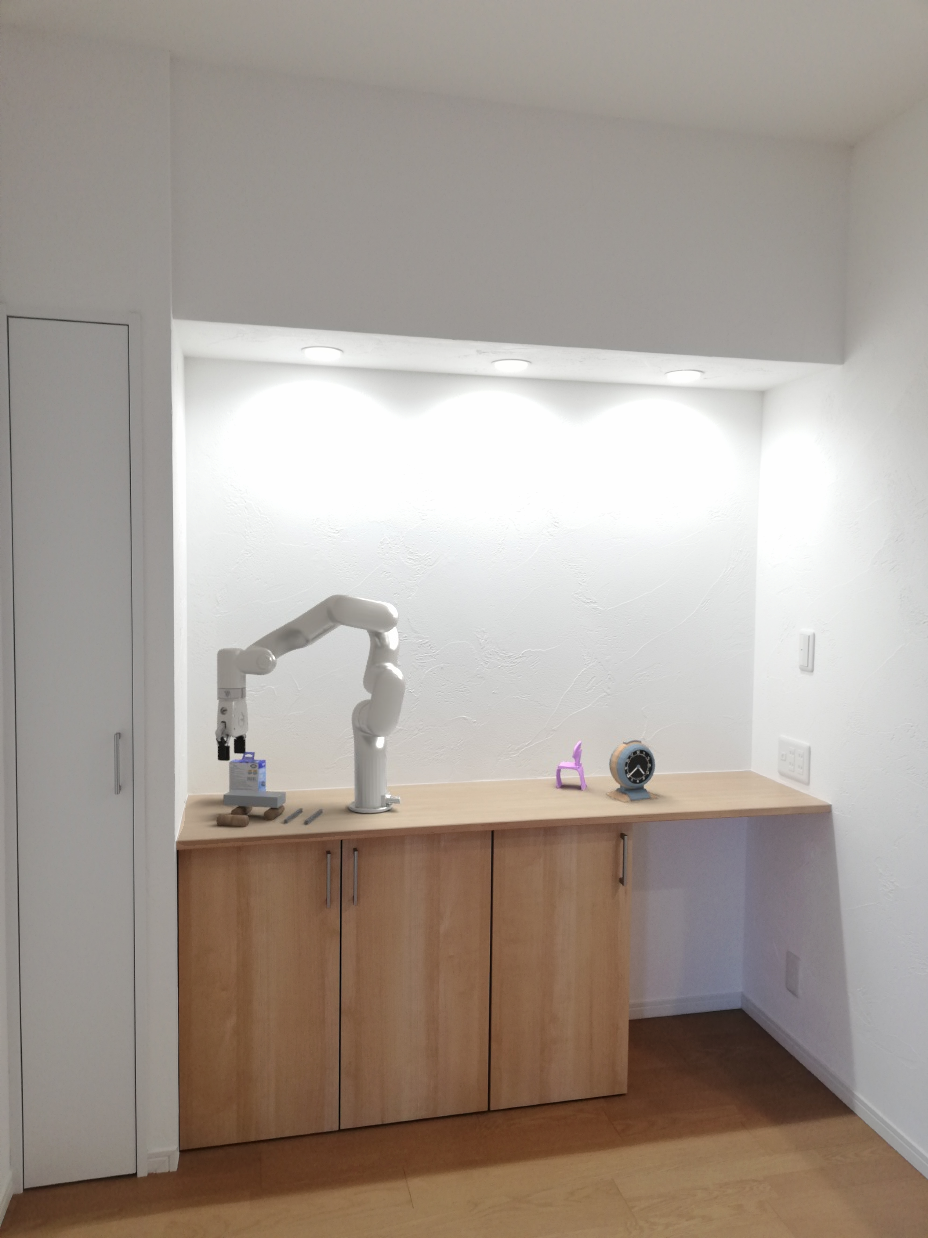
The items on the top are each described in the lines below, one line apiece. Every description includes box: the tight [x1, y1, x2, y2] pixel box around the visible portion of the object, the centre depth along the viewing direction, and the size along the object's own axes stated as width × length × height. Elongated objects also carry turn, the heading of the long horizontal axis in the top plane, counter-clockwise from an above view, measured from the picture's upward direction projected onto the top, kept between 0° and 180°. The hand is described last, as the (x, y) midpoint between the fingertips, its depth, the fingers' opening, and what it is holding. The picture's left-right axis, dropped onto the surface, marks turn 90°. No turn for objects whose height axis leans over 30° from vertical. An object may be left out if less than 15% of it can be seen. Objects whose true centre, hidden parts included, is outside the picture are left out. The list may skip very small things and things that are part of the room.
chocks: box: [283, 807, 324, 825], centre depth 246 cm, size 7×12×1 cm, turn 170°
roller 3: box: [262, 804, 285, 822], centre depth 248 cm, size 3×8×3 cm, turn 170°
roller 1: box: [230, 806, 254, 815], centre depth 249 cm, size 3×8×3 cm, turn 170°
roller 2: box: [215, 813, 250, 828], centre depth 239 cm, size 8×3×3 cm, turn 80°
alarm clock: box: [605, 738, 659, 803], centre depth 269 cm, size 14×10×18 cm
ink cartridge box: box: [228, 751, 267, 792], centre depth 265 cm, size 10×6×14 cm, turn 78°
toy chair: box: [555, 740, 587, 791], centre depth 282 cm, size 8×9×15 cm
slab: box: [222, 790, 287, 809], centre depth 248 cm, size 16×6×3 cm, turn 80°
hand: (231, 756), depth 238 cm, fingers open, 9 cm apart
